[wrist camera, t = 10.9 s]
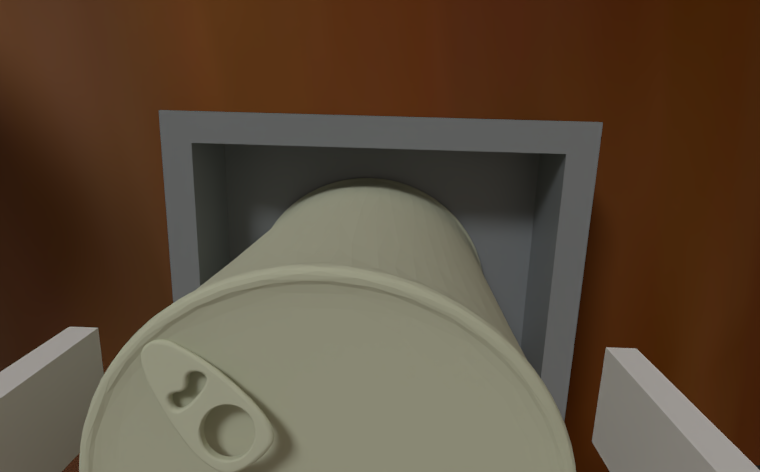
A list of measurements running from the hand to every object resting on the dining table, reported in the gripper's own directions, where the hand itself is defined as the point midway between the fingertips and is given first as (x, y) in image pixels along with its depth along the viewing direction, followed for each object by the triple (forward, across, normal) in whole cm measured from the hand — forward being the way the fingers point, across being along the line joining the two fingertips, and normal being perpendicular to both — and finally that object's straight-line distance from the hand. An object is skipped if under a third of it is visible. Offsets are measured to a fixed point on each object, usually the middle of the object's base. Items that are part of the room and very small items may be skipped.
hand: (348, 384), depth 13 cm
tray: (+8, 0, 0) cm, 8 cm away
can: (+8, 0, 0) cm, 8 cm away
